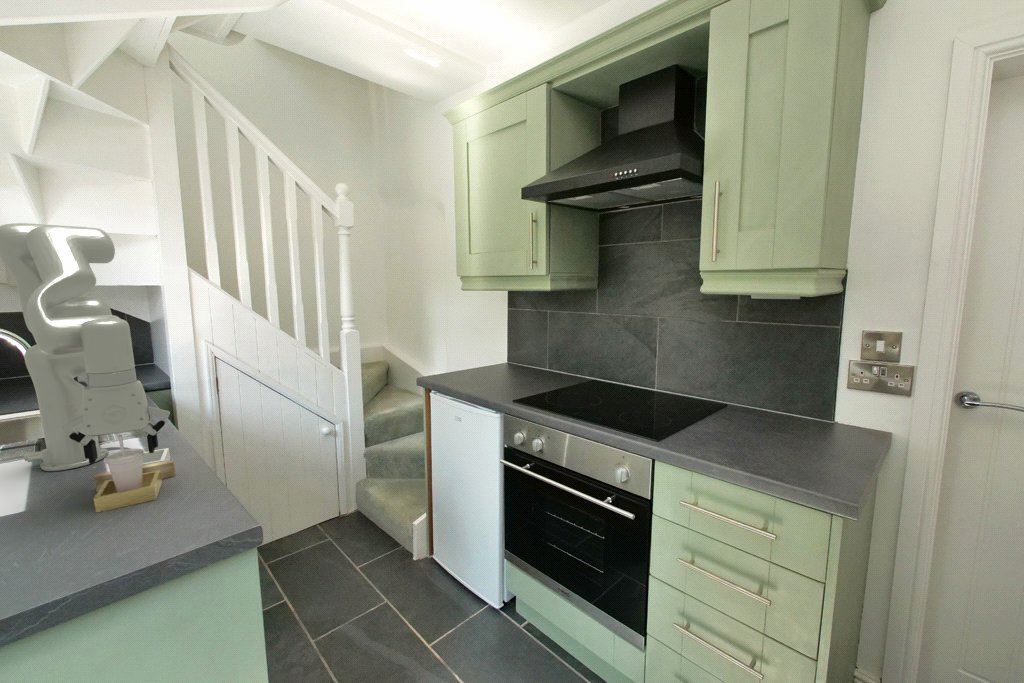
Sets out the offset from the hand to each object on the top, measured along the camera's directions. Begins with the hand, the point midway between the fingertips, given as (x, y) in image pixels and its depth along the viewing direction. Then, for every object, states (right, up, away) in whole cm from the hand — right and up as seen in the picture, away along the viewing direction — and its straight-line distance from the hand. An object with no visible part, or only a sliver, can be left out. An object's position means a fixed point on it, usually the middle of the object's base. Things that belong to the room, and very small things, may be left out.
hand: (123, 455), depth 95 cm
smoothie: (+1, -9, +1) cm, 9 cm away
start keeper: (-8, -7, +14) cm, 18 cm away
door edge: (-3, -8, +8) cm, 12 cm away
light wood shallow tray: (+1, -9, +1) cm, 9 cm away
